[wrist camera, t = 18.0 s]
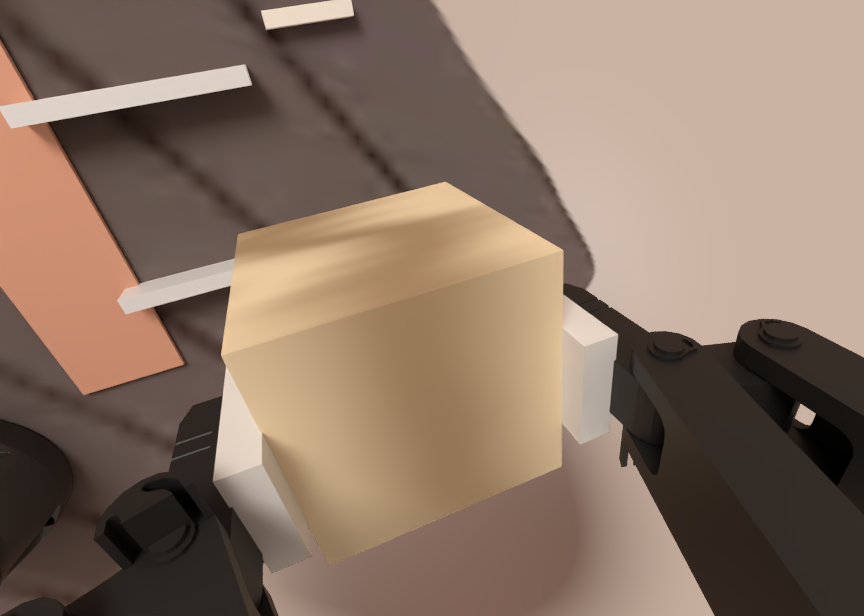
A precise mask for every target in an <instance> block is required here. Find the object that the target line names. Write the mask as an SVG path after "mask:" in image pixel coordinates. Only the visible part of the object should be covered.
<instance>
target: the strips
mask: <svg viewBox="0 0 864 616" xmlns="http://www.w3.org/2000/svg"><path fill="white" fill-rule="evenodd" d="M261 14H262V17H263V21H264V24H265V27H266V30H271V29H277V28H284V27H290V26H297V25H303V24H310V23H316V22H322V21H329V20H335V19H342V18H348V17H352V16H354V12H353V7H352V2H351V0H333V1H326V2H319V3H312V4H305V5H298V6H291V7H285V8H278V9H271V10H264V11H261Z"/></svg>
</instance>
